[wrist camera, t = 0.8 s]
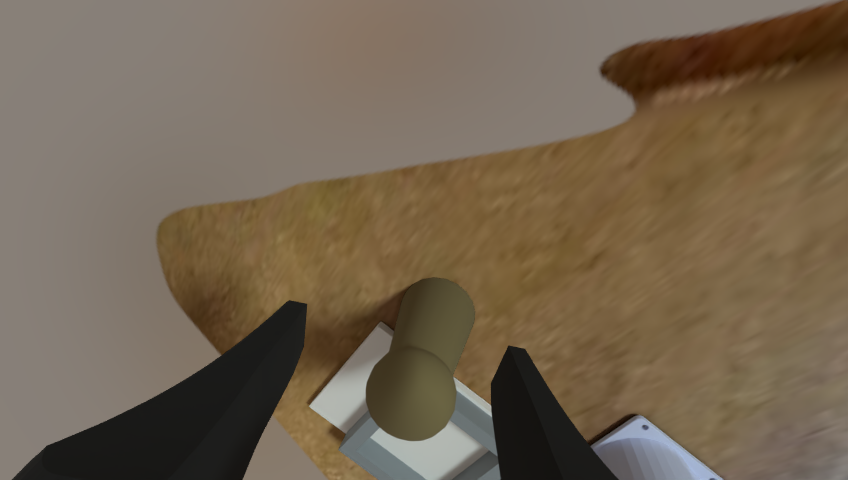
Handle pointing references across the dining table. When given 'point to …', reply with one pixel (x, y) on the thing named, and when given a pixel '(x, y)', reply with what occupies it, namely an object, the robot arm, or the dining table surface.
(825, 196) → the dining table surface
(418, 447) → the socket board
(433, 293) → the olive knobbed tapered peg
